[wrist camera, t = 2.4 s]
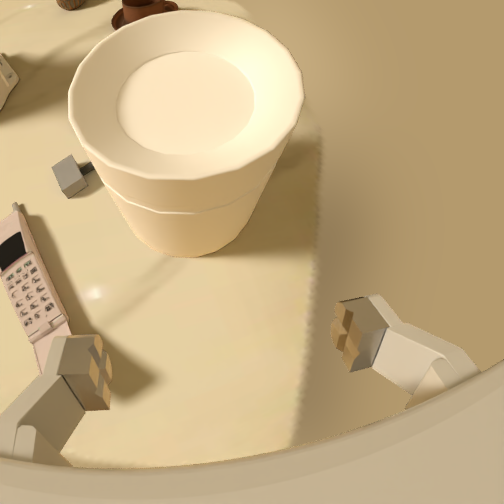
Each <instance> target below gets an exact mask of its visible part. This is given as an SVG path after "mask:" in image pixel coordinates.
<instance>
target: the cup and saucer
mask: <svg viewBox="0 0 504 504" xmlns="http://www.w3.org/2000/svg"><path fill="white" fill-rule="evenodd" d="M122 5H123V8H122V9H120V10H119V11H118V12H117V13H116V14H115V15H114V16H113V18H112V26H113V28H114V29H115V30H118V29H119V28H121V27H123V26H125V25H127V24H130V23H132V22H135V21H137V20H140V19H142V18H145V17H148V16H150V15H155V14H160V13H166V12H172V11H178V6H177V4H176V3H174V2H172V1H165V0H122Z"/></svg>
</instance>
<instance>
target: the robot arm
mask: <svg viewBox="0 0 504 504" xmlns="http://www.w3.org/2000/svg"><path fill="white" fill-rule="evenodd" d="M18 81H19V77H18V76H17V74H16V73H15V72H14V70H13V69H12V68H11V66H10V65H9V64H8V63H7V61H6V60H5V59H4V57H3V56H2V55H1V53H0V110H1V108H2V107H3V105H4V103H5V101H6V99H7V96H8V94H9V93H10V91H11V90H12V89H13V88H14V86H15V85H16V84H17V82H18ZM334 312H335V314H336V318H335V319H334V320H333V321H332V323H331V338H332V341H333V344H334V345H335V347H336V349H338V350H340V351H342V352H343V354H342V360H343V362H344V364H345V365H346V367H347V369H348V371H349V372H354V371H358V370H361V369H365V368H369V367H372V368H373V369H374V370H375V371H377V372H378V373H380V374H382V375H383V376H385V377H386V378H387V379H389V380H390V381H392V382H393V383H395V384H396V385H398V386H399V387H401V388H402V389H403V390H405V391H406V392H408V393H409V394H411V395H412V397H411V399H410V400H409V402H408V403H407V405H406V408H405V410H404V411H402V412H399V413H397V414H394V415H392V416H390V417H387V418H384V419H382V420H379V421H376V422H374V423H371V424H368V425H365V426H362V427H359V428H356V429H353V430H351V431H347V432H344V433H341V434H338V435H335V436H331V437H328V438H325V439H321V440H318V441H314V442H310V443H307V444H303V445H299V446H295V447H291V448H286V449H282V450H278V451H273V452H268V453H264V454H259V455H254V456H248V457H243V458H237V459H231V460H224V461H217V462H210V463H202V464H193V465H182V466H170V467H155V468H118V469H117V468H83V467H73V466H72V464H71V463H70V462H69V461H68V460H67V459H66V458H65V457H63V456H62V455H61V454H60V451H61V450H62V448H63V447H64V445H65V444H66V442H67V440H68V439H69V437H70V436H71V434H72V433H73V431H74V429H75V428H76V426H77V425H78V423H79V422H80V420H81V419H82V417H83V416H84V414H85V413H86V412H85V411H97V410H110V398H111V392H110V390H109V388H108V385H109V384H110V383H111V381H112V366H111V362H110V358H109V356H108V353H107V352H106V351H104V350H103V349H102V347H103V342H102V339H101V337H100V335H98V334H88V335H69V336H55V337H54V338H53V339H52V342H51V345H50V349H49V352H48V356H47V359H46V363H45V367H44V370H43V374H42V375H38V376H37V377H36V378H35V379H34V380H33V381H32V383H31V384H30V385H29V386H28V387H27V388H26V389H25V390H24V391H23V392H22V393H21V394H20V395H19V396H18V397H17V398H16V399H15V400H14V401H13V402H12V403H11V404H10V405H9V406H8V408H7V409H6V410H5V411H4V412H3V413H2V414H1V415H0V504H504V359H503V360H502V361H500V362H499V363H497V364H495V365H494V366H492V367H490V368H489V369H487V370H485V371H483V372H481V371H480V370H479V369H478V367H477V366H476V365H475V364H474V362H473V361H472V360H471V359H470V358H469V356H468V355H467V354H466V352H465V351H464V350H463V349H462V348H460V347H458V346H456V345H454V344H452V343H450V342H447V341H445V340H443V339H441V338H439V337H437V336H434V335H433V334H430V333H428V332H426V331H424V330H422V329H419V328H417V327H415V326H413V325H411V324H409V323H403V322H402V321H401V320H400V319H399V317H398V316H397V315H396V314H395V312H394V311H393V310H392V309H391V307H390V306H389V305H388V304H387V303H386V301H385V300H384V299H383V298H382V296H381V295H379V294H373V295H369V296H364V297H359V298H355V299H350V300H345V301H340V302H337V304H336V305H335V309H334Z"/></svg>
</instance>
